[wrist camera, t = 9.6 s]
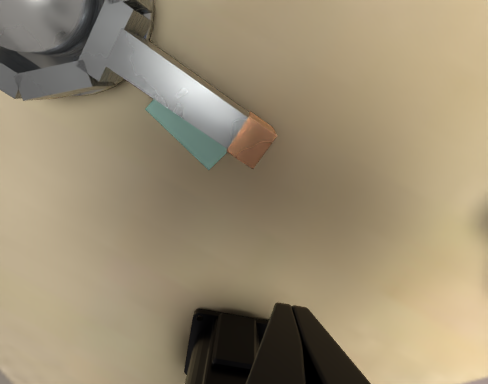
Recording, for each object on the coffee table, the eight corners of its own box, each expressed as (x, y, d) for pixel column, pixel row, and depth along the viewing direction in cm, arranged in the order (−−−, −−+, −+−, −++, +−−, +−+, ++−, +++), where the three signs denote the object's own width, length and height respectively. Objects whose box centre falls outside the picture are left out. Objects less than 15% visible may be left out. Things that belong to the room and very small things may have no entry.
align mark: (235, 143, 18) (235, 144, 18) (209, 169, 19) (208, 170, 19) (172, 78, 17) (171, 78, 17) (146, 109, 18) (145, 109, 18)
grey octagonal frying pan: (315, 66, 16) (330, 62, 13) (217, 204, 19) (210, 227, 16) (-10, -188, 13) (-89, -270, 10) (-69, 21, 16) (-144, 7, 13)
